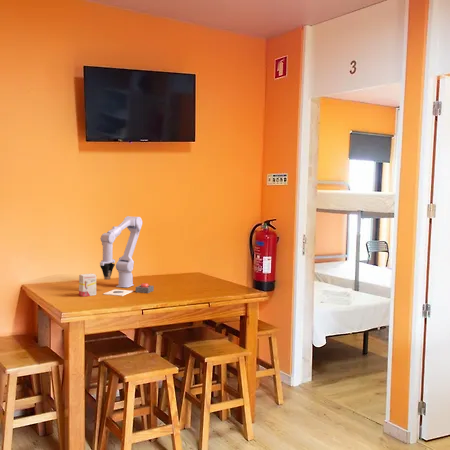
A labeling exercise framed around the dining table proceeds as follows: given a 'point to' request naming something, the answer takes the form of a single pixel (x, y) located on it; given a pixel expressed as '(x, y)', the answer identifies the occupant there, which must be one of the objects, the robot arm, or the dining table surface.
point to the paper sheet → (118, 292)
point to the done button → (144, 285)
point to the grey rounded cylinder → (108, 276)
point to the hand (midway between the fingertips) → (107, 276)
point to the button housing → (144, 289)
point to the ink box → (87, 285)
